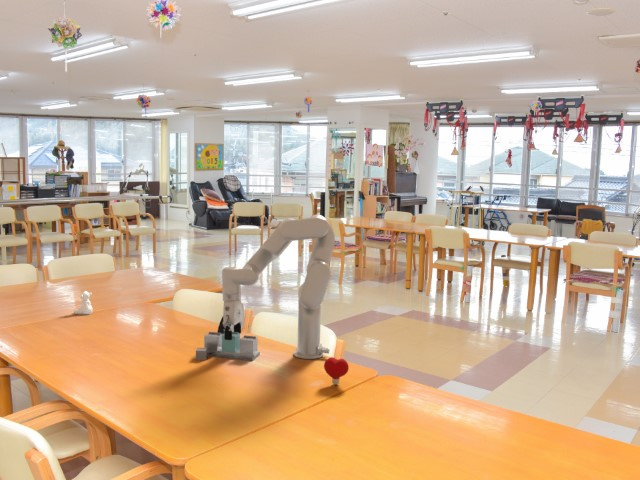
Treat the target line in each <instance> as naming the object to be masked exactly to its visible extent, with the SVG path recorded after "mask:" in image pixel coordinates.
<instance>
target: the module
mask: <svg viewBox="0 0 640 480" xmlns="http://www.w3.org/2000/svg"><path fill="white" fill-rule="evenodd" d="M240 339H241V333H239V332H232V340H225V338H224V334H223V335H222V352H231V353H236V352H237V351H238V350H240Z"/></svg>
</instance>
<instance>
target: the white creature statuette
mask: <svg viewBox="0 0 640 480" xmlns="http://www.w3.org/2000/svg"><path fill="white" fill-rule="evenodd" d="M92 295H93V292H88V291H86V290H85V291H82V293H81V294H80V299H81V304H80V308H76V309H73V314H74V315H85V316H86V315H87V316H88V315H91V314H93V308H94V307H92V303H91V300H90V296H92Z"/></svg>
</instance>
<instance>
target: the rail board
mask: <svg viewBox="0 0 640 480" xmlns="http://www.w3.org/2000/svg"><path fill="white" fill-rule="evenodd" d="M217 332H218V331H217ZM217 332H215V331H214V332H213V331H209V332H208V333H206V334H205V335H203V337H204V341H203V348H207V357H215V358H216V357H217V358H225V359H231V360H232V359H234V360H243V361H250V362H253V361H255V360H256V359H257V358H258V357H259V356H260V355H261V353H260V351H258V345H259V344H258V336H254V335H243V336H242V337H240V350H238V351H237V352H236V353H231V352H222V334H221V333H217Z"/></svg>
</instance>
